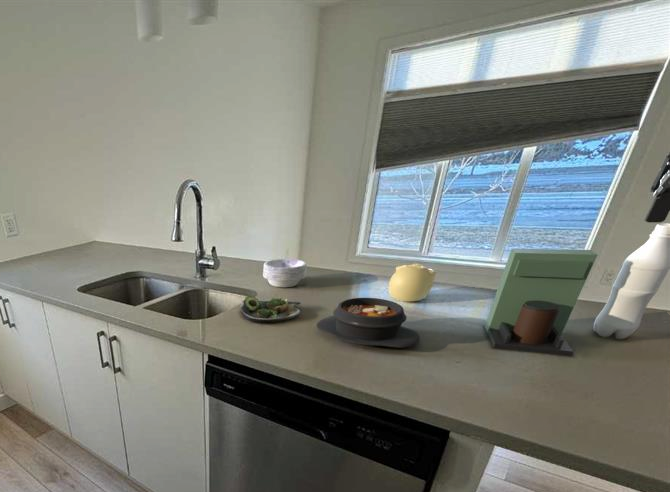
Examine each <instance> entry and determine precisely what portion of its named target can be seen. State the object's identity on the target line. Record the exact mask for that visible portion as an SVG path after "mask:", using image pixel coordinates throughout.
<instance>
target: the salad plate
mask: <svg viewBox="0 0 670 492" xmlns="http://www.w3.org/2000/svg"><path fill="white" fill-rule="evenodd" d="M241 303H242V304H240V305H239V310H240V311H239V312H240V313H241V315H242V316H243V317H244V319H246V320H247V321H249V322H251V323H255V324H271V323H278V322H283V321H286V320H290V319H291V320H292V319H293V318H295V317H297V316H298V315H300V313H301V311H300V309H298V308H297V307H295V306H297V305H301V303H302V302H301V301H293V300H292V301H290V300H289V301H288V299H287V298H285V299H282V298H281V297H280V298H278V297H277V298H274V297H272V298H270V299H265V300H259V299H258V298H256V297H255V296H252V295H251V296H246V297H245V298H244V300H243V301H241Z"/></svg>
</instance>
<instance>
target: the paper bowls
mask: <svg viewBox="0 0 670 492" xmlns="http://www.w3.org/2000/svg"><path fill="white" fill-rule="evenodd" d="M307 266H308V263H307V262H306V261H304V260H301V259H295V258H277V259H276V258H275V259H270V260H267V261H265V262H264V263H263V270H262V276H263V278H264V279H266V280H267V281H268V283H269V285H270V286H272V287H276V288H292V287H296V286H297V285H298V284H299V282H300V281H301V280H303V279H305V278H306V275H307Z"/></svg>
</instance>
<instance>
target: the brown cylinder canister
mask: <svg viewBox="0 0 670 492" xmlns="http://www.w3.org/2000/svg"><path fill="white" fill-rule="evenodd" d="M559 311H560V306H559V305H557V304H555V303H551V302H547V301H536V300H534V301H527V302H525V304H523V306H522V309H521V311H520V314H519V316H518V319H517V322H516V324H515V327H514V329H513V332H512V335H511V338H512V339H513V340H515V341H518V342H521V343H525V344H533V345H539V344H544V343H545V342H546V340H547V338H548V336H549V333H550V331H551V329H552V327H553V324H554V322H555V320H556V317H557V315H558V313H559Z"/></svg>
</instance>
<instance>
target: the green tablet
mask: <svg viewBox="0 0 670 492" xmlns="http://www.w3.org/2000/svg"><path fill="white" fill-rule="evenodd" d="M597 256H598V254H597V253H596V252H595V251H593V250H592V249H568V248H567V249H564V248H562V249H559V248H557V249H556V248H511V249H510V252H509V255H508V258H507V261H506V264H505V266H504V268H503V272H502V275H501V278H500V281H499V284H498V287H497V290H496V293H495V295H494V299H493V301H492V304H491V307H490V310H489V313H488V316H487V318H486V321H485V324H484V328H485V330H486V333H487V336H488V338H489V341H490V343H491V346H492V348H493V349H497V350H498V349H500V350H507V351H515V352H516V351H518V352H525V353H526V352H527V353H536V354H537V353H538V354H546V355H555V356H556V355H557V356H566V357H572V356H573V353H574V350H573V348H571V346H570V345H569V343H568V342H567V340H566V339H565V338H564V337H563V335H562V334H563V332H564V329H565V328H566V325H567V323H568V321H569V320H570V319H569V318H570V317H571V314H572V312H573V310H574V307H575V306H576V303H577V301H578V299H579V297H580V295H581V293H582V290H583V288H584V286H585V284H586V281H587V280H588V277H589V274H590V272H591V270H592V268H593V266H594V265H595V264H594V263H595V261H596V259H597ZM534 300H536V301H547V302H551V303H555V304H557V305H559V306H560V311H559V313H558V315H557V317H556V320H555V322H554V324H553V327H552V329H551V331H550V333H549V336H548V338H547V340H546V342H545V343H544V344H539V345H533V344H525V343H521V342H518V341H515V340H513V339H512V338H511V335H512V332H513V329H514V327H515V324H516V322H517V319H518V316H519V314H520V311H521V309H522V306H523V304H525V302H527V301H534Z"/></svg>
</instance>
